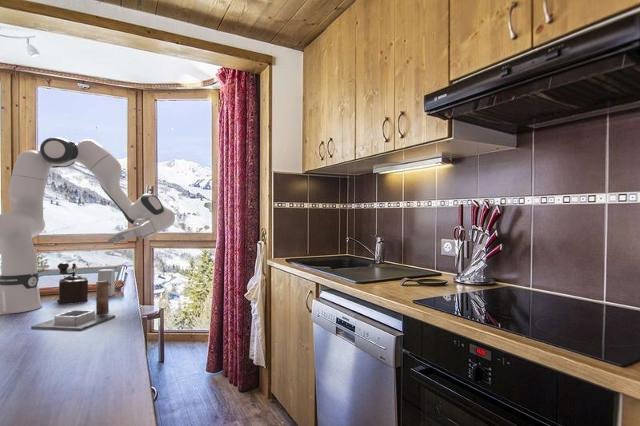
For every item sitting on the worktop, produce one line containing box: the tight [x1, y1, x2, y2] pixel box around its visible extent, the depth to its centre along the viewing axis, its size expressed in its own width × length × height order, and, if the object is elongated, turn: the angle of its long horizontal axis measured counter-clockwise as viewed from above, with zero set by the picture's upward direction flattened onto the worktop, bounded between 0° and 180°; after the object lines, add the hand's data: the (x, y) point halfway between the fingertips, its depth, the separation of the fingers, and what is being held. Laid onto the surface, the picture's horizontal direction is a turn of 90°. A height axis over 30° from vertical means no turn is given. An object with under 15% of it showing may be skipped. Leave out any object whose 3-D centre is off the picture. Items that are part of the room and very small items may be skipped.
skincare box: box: [97, 268, 116, 297], centre depth 171 cm, size 6×4×12 cm
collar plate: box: [30, 309, 116, 332], centre depth 126 cm, size 18×16×3 cm
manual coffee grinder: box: [56, 261, 89, 305], centre depth 157 cm, size 16×11×18 cm
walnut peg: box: [95, 280, 110, 315], centre depth 139 cm, size 4×4×12 cm
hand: (115, 239), depth 147 cm, fingers open, 8 cm apart
